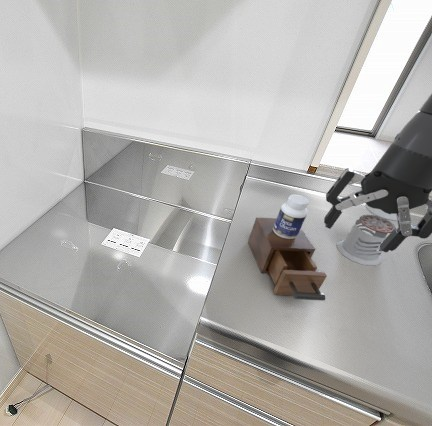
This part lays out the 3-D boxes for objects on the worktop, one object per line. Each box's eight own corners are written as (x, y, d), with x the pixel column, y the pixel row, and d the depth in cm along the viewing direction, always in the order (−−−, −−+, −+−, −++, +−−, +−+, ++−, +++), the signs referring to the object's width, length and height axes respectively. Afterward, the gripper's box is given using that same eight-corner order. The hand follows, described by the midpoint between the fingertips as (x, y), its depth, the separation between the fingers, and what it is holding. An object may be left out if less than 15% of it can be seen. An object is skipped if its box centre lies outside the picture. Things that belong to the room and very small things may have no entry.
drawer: (324, 313, 62) (338, 292, 58) (282, 310, 62) (293, 289, 58) (295, 262, 73) (305, 242, 69) (260, 261, 74) (268, 241, 70)
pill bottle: (272, 236, 70) (286, 202, 64) (272, 223, 74) (284, 190, 68) (298, 242, 68) (314, 207, 63) (296, 228, 72) (310, 195, 67)
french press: (330, 237, 82) (376, 155, 67) (377, 242, 80) (435, 159, 65) (345, 262, 74) (400, 175, 60) (398, 269, 72) (468, 180, 58)
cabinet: (302, 275, 71) (315, 249, 66) (261, 273, 72) (271, 247, 67) (283, 243, 81) (294, 218, 76) (247, 242, 81) (256, 217, 76)
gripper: (371, 137, 42) (309, 227, 51) (502, 175, 37) (408, 269, 45) (365, 130, 48) (310, 212, 56) (477, 162, 43) (398, 248, 51)
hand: (354, 237), depth 51 cm, fingers open, 8 cm apart
